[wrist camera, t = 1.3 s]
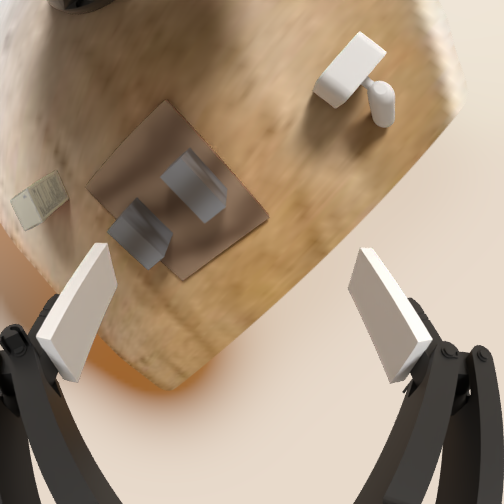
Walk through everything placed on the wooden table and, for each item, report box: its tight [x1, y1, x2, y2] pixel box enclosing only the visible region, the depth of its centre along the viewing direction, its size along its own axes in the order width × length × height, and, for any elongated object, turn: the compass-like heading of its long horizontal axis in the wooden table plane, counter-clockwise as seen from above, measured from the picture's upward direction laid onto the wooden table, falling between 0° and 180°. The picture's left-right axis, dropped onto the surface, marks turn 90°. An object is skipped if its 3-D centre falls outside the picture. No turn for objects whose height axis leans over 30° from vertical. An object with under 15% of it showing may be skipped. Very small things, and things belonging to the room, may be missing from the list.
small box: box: [10, 170, 69, 231], centre depth 30 cm, size 5×4×8 cm
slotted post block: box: [85, 100, 269, 281], centre depth 33 cm, size 20×16×7 cm
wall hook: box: [313, 32, 395, 128], centre depth 26 cm, size 8×10×10 cm
